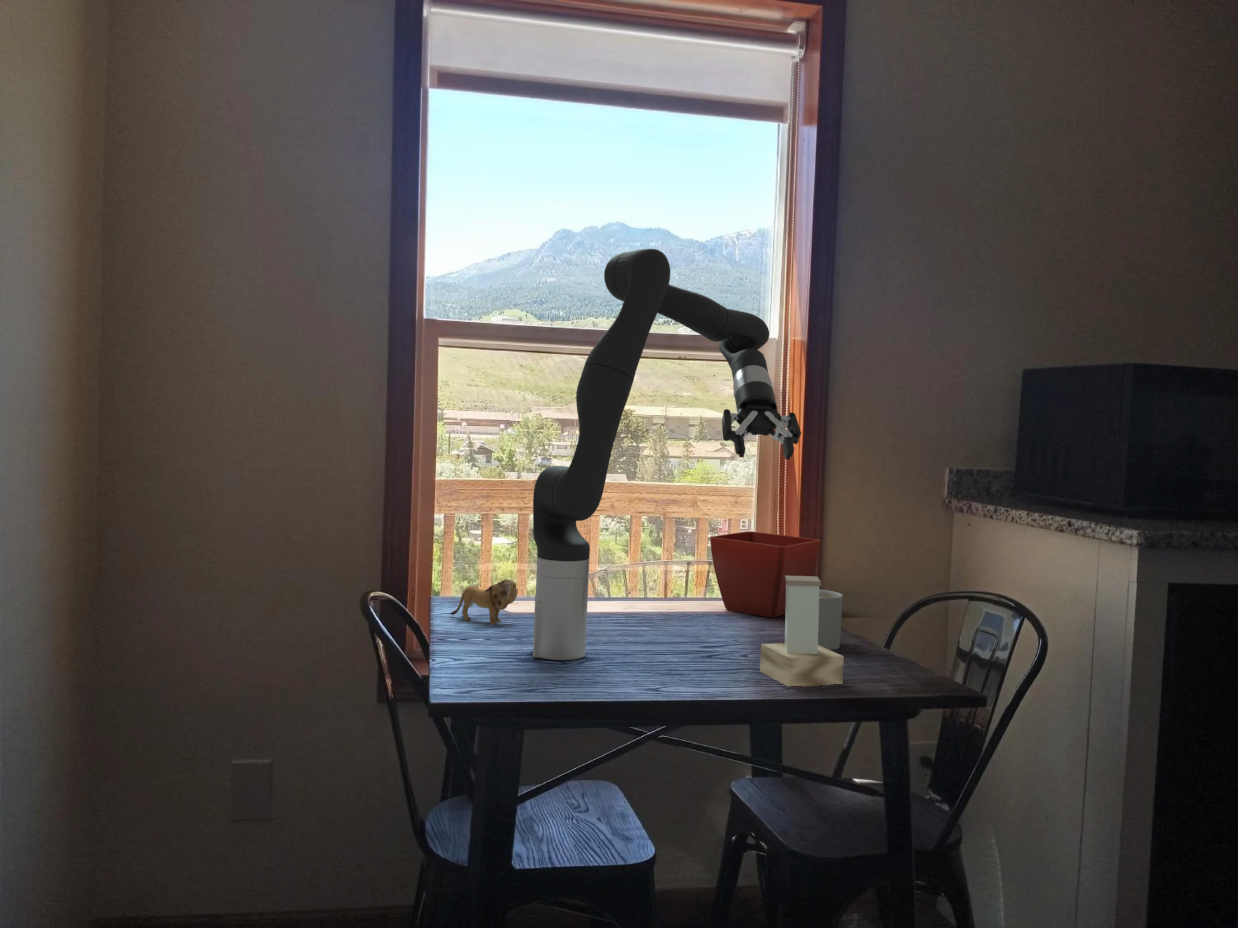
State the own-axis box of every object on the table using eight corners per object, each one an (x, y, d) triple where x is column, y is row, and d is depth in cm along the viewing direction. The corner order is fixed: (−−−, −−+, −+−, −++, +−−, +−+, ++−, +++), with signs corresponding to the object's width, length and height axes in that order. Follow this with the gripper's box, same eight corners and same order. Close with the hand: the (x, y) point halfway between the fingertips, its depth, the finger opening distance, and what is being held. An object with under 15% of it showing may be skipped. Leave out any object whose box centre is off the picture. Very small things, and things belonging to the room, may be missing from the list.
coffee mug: (848, 649, 181) (851, 597, 181) (800, 650, 179) (803, 597, 179) (819, 634, 194) (821, 585, 194) (773, 634, 192) (776, 585, 192)
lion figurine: (520, 622, 193) (522, 578, 193) (509, 627, 188) (511, 582, 187) (456, 614, 197) (457, 571, 197) (443, 619, 192) (445, 575, 192)
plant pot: (779, 623, 204) (783, 545, 203) (704, 609, 215) (708, 536, 215) (818, 611, 219) (822, 539, 218) (746, 599, 231) (749, 531, 230)
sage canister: (785, 653, 156) (787, 580, 155) (783, 646, 161) (785, 575, 160) (819, 654, 155) (820, 581, 155) (815, 647, 160) (817, 576, 160)
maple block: (788, 688, 152) (789, 658, 152) (759, 672, 162) (761, 643, 162) (842, 686, 156) (843, 656, 155) (811, 670, 165) (812, 642, 165)
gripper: (721, 378, 179) (731, 439, 168) (794, 381, 180) (809, 442, 169) (714, 406, 184) (723, 467, 174) (785, 409, 186) (799, 471, 175)
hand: (765, 455), depth 171 cm, fingers open, 8 cm apart
